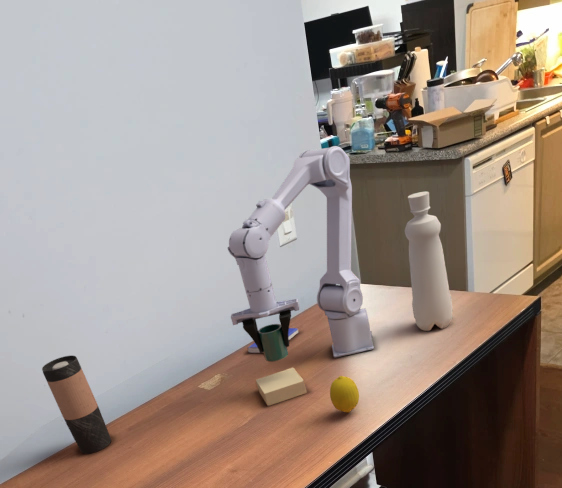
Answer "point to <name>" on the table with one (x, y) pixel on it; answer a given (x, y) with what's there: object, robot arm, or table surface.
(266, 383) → the block
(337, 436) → the table surface
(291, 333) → the blue book
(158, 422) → the table surface
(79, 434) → the travel mug
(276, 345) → the cup
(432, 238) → the bottle
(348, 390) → the lemon
